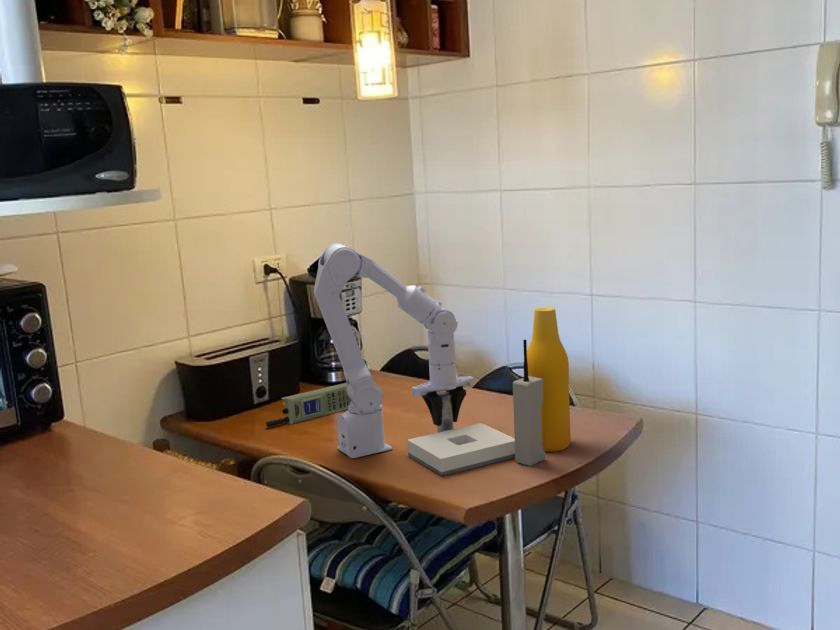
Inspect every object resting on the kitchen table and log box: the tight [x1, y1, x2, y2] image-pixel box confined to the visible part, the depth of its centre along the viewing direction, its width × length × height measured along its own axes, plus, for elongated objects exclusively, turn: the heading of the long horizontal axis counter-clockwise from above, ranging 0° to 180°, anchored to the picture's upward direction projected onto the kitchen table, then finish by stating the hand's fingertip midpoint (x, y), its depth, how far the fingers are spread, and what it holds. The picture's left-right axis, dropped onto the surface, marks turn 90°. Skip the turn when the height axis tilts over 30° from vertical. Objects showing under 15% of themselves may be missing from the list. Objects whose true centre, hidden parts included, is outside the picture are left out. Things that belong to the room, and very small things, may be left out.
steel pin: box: [436, 391, 455, 433], centre depth 183 cm, size 4×4×10 cm
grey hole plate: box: [406, 422, 515, 477], centre depth 172 cm, size 18×14×4 cm
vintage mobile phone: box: [512, 339, 546, 467], centre depth 165 cm, size 4×5×25 cm
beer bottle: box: [527, 306, 571, 453], centre depth 174 cm, size 9×9×29 cm
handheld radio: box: [265, 382, 352, 428], centre depth 204 cm, size 7×3×25 cm
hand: (445, 422), depth 183 cm, fingers closed on steel pin, 4 cm apart
